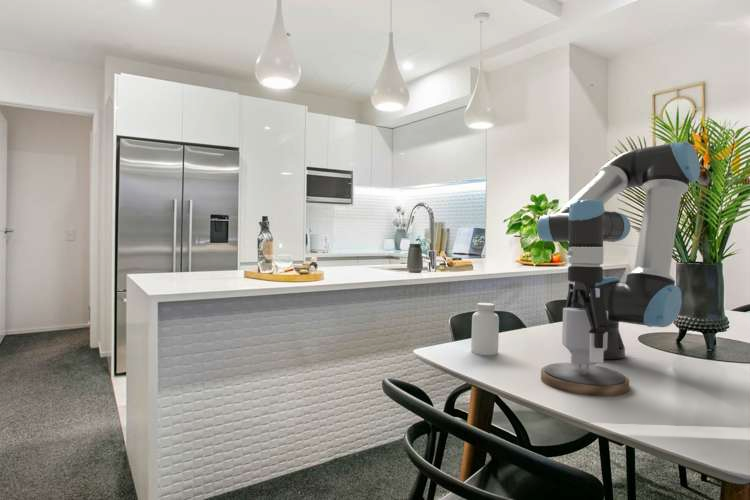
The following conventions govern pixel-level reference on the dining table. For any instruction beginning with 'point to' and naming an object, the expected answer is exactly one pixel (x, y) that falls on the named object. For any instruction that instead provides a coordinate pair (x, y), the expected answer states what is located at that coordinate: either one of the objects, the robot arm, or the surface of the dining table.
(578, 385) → the round mirror
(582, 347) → the charger
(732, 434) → the dining table surface
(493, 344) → the pill bottle
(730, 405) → the dining table surface
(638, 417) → the dining table surface
